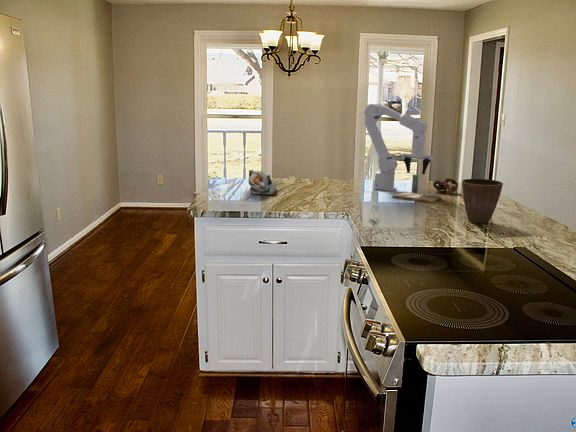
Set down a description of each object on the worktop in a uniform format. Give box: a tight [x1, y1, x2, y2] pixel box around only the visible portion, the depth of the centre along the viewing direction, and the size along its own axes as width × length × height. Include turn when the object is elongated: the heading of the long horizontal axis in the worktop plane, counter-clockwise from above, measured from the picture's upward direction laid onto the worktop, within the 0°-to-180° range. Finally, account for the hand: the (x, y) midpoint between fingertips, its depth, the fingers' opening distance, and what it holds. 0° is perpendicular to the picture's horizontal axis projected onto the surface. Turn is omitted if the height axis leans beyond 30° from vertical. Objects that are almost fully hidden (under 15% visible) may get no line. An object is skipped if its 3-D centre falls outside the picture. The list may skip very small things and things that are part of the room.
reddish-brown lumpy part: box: [432, 177, 459, 195], centre depth 271 cm, size 12×10×8 cm
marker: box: [411, 173, 420, 193], centre depth 267 cm, size 3×3×9 cm
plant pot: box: [461, 178, 504, 224], centre depth 210 cm, size 15×15×16 cm
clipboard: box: [392, 191, 442, 204], centre depth 256 cm, size 19×14×1 cm
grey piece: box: [248, 169, 280, 196], centre depth 255 cm, size 15×12×14 cm
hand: (415, 173), depth 266 cm, fingers open, 7 cm apart
